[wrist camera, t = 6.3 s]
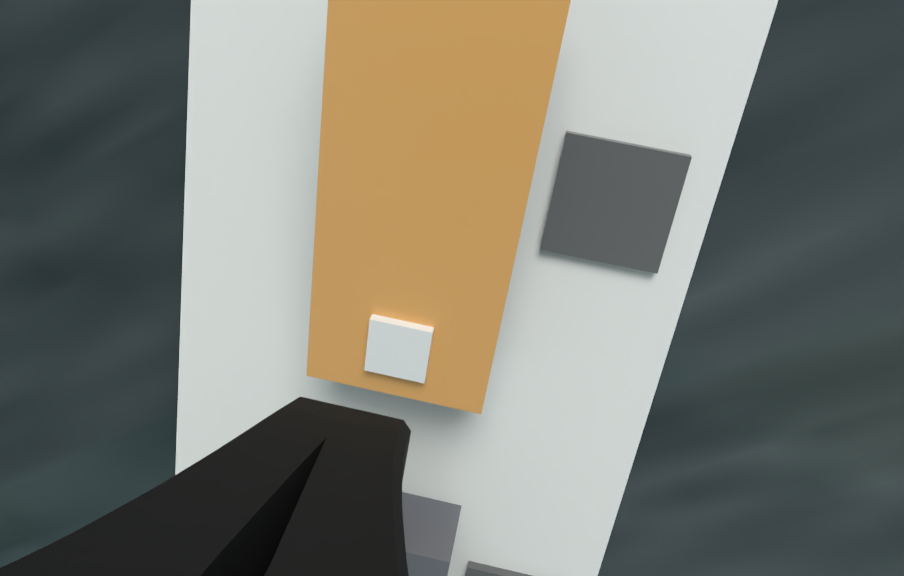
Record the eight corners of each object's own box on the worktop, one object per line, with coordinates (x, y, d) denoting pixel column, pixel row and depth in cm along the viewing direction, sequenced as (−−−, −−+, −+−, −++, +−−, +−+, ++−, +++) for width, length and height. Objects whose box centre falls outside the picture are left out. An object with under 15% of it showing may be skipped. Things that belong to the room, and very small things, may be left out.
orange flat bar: (580, -50, 10) (578, -38, 9) (489, 371, 13) (480, 420, 12) (359, -89, 10) (329, -83, 9) (328, 336, 14) (303, 381, 12)
